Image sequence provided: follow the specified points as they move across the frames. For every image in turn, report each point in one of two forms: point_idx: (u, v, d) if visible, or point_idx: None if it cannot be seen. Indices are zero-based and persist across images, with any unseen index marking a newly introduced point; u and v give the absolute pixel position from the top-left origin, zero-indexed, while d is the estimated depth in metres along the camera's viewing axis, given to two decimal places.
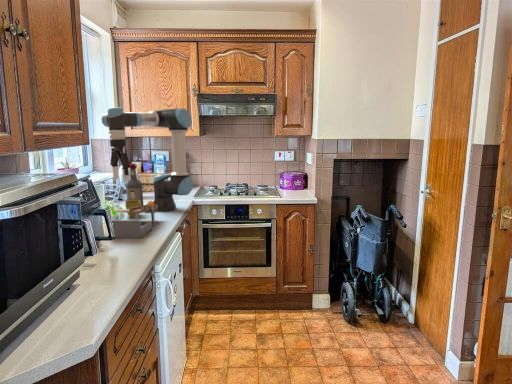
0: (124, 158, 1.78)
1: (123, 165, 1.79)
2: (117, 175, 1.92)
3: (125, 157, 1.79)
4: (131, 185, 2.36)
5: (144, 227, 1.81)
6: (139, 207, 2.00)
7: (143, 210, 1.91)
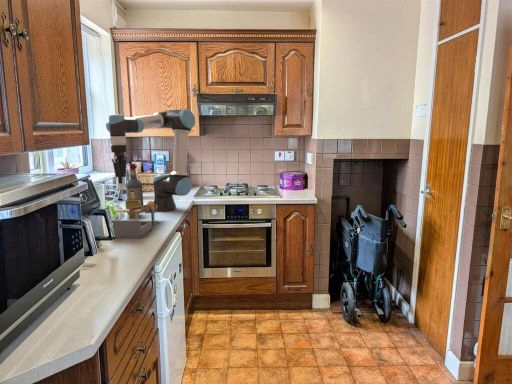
0: (115, 168, 1.86)
1: None
2: None
3: (116, 167, 1.86)
4: (131, 185, 2.36)
5: (144, 227, 1.81)
6: (139, 207, 2.00)
7: (143, 210, 1.91)
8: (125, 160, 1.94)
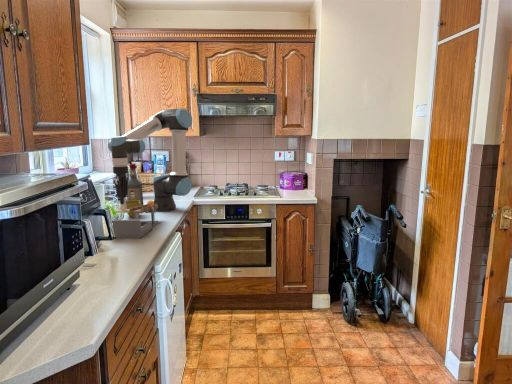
0: (117, 189, 1.88)
1: None
2: None
3: (118, 188, 1.88)
4: (131, 185, 2.36)
5: (144, 227, 1.81)
6: (139, 207, 2.00)
7: (143, 211, 1.91)
8: (127, 181, 1.96)
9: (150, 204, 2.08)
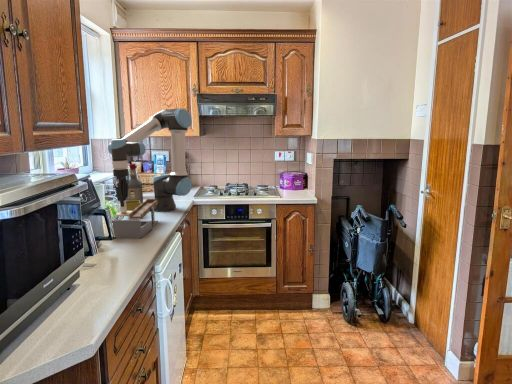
0: (117, 192, 1.88)
1: None
2: None
3: (118, 191, 1.88)
4: (131, 185, 2.36)
5: (144, 227, 1.81)
6: (139, 207, 2.00)
7: (144, 215, 1.91)
8: (127, 183, 1.96)
9: None
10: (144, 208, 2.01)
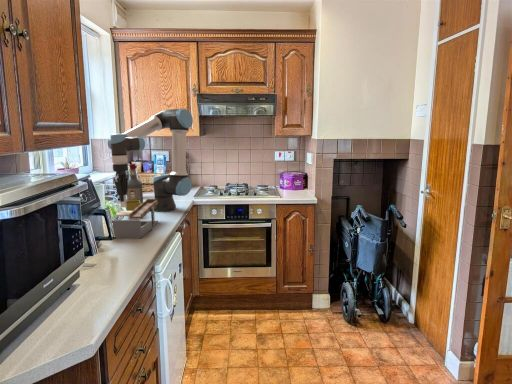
0: (116, 187, 1.88)
1: None
2: None
3: (118, 186, 1.88)
4: (131, 185, 2.36)
5: (144, 227, 1.81)
6: (139, 207, 2.00)
7: (144, 215, 1.91)
8: (127, 178, 1.96)
9: None
10: (144, 208, 2.01)
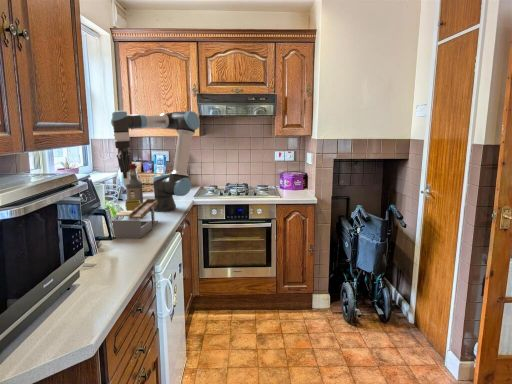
0: (120, 163, 1.91)
1: None
2: None
3: (121, 162, 1.90)
4: (131, 185, 2.36)
5: (144, 227, 1.81)
6: (139, 207, 2.00)
7: (144, 215, 1.91)
8: (129, 155, 1.99)
9: None
10: (144, 208, 2.01)
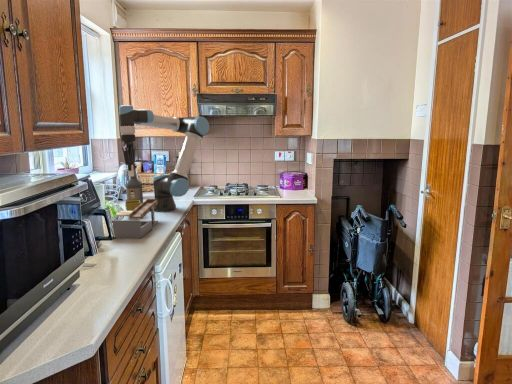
0: (125, 156, 1.98)
1: None
2: None
3: (126, 155, 1.98)
4: (131, 185, 2.36)
5: (144, 227, 1.81)
6: (139, 207, 2.00)
7: (144, 215, 1.91)
8: (134, 149, 2.06)
9: None
10: (144, 208, 2.01)
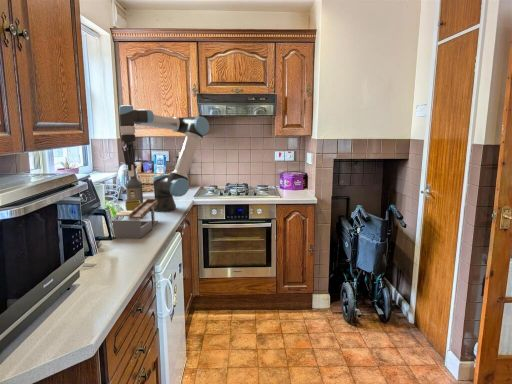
0: (125, 156, 1.98)
1: None
2: None
3: (126, 155, 1.98)
4: (131, 185, 2.36)
5: (144, 227, 1.81)
6: (139, 207, 2.00)
7: (144, 215, 1.91)
8: (134, 149, 2.06)
9: None
10: (144, 208, 2.01)
